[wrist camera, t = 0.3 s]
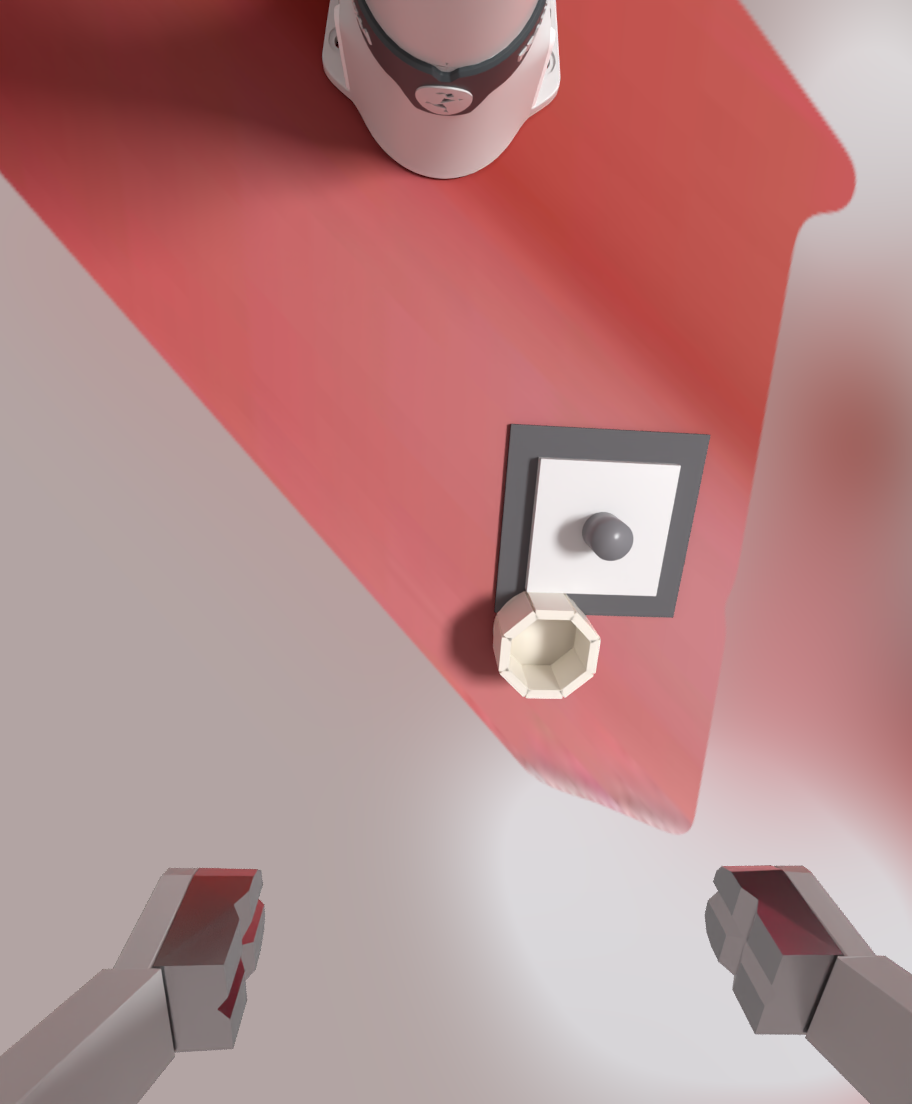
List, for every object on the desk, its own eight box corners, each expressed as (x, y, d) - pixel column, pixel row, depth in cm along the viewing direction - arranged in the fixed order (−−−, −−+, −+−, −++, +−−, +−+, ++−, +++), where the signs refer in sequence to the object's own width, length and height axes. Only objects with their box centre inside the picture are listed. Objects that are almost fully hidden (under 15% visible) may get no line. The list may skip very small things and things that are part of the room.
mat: (510, 423, 53) (511, 424, 52) (708, 434, 54) (710, 435, 54) (494, 610, 59) (494, 612, 59) (671, 615, 61) (673, 617, 60)
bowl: (496, 585, 58) (504, 608, 52) (587, 588, 59) (605, 611, 53) (489, 667, 61) (496, 697, 56) (575, 668, 62) (591, 699, 56)
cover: (538, 456, 53) (549, 465, 49) (675, 463, 54) (697, 472, 50) (524, 587, 58) (533, 606, 54) (651, 591, 59) (670, 610, 55)
